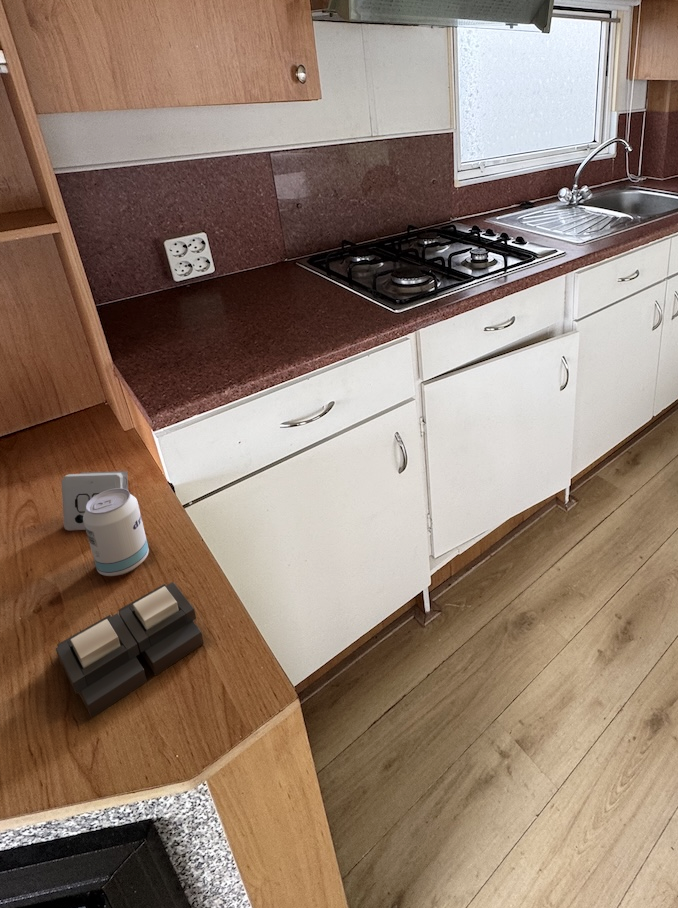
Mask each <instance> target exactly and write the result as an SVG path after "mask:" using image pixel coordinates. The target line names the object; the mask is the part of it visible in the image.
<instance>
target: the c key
mask: <svg viewBox="0 0 678 908" xmlns="http://www.w3.org/2000/svg"><path fill="white" fill-rule="evenodd" d="M71 643H72V646H73V650H74V651H75V653H76V655H77V657H78V659H79V661H80V663H81V665H82V667H83V669H84V668H85V667H87V666H89V665H90V664H92V663H94V662H95V661H97V660H99V659H100V658H102V657H104V656H105V655H107V654H109V653H110V652H112V651H114V650H115V649H117V648H119V647H120V642H119V639H118V636H117V634H116V633H115V631H114V629H113V628H112V626H111V625H110V623H109V621H108V620H107V619H106V620H104V621H102V622H100V623H98V624H97V625H95V626H93V627H91V628H90V629H88V630H86V631H84V632H83V633H81V634H79V635H77V636H76V637H74V638H72V639H71Z"/></svg>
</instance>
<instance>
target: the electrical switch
mask: <svg viewBox="0 0 678 908" xmlns="http://www.w3.org/2000/svg"><path fill="white" fill-rule="evenodd" d="M128 481H129V480H128V471H127V470H118V471H91V472H90V471H89V472H87V471H86V472H80V473H69V474H66V475H64V476H63V478H62V479H61V496H62V497H61V498H62V517H63V528H64V529H65V530H66V531H86V529H85V525H84V522H83V515H84V513H85V511H86V504H87V503H88V501H89V500H90V499H91V498H93V497H94V496H96V495H97V494H99V493H101V492H104V491H106V490H110V489H115V488H123V489H126V490H128V491H129V482H128Z"/></svg>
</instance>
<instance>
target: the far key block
mask: <svg viewBox="0 0 678 908" xmlns="http://www.w3.org/2000/svg"><path fill="white" fill-rule="evenodd" d="M164 586H165V587H166V588H167V590H168V591H169V592H170V594H171V595H172V596H173V598H174V599H175V600H176V602H177V605H178V610H179V611H178V612H176V613H175V614H173V615H171V616H170V617H168V618H166V619H165V620H163V621H161V622H160V623H158V624H156V625H155V626H153V627H151V628H150V629H148V630H146V629H145V627H144V626H143V624H142V623H141V622H140V620H139V619H138V617H137V616H136V614H135V611H134V607H133V604H134V603H136V602H137V601H139V600H141V599H143V598H145V597H146V596H148V595H150V594H152V593H153V592H155V591H157V590H159V589H160V588H162V587H164ZM118 614H119V616H120V618H121V619H122V621H123V622H124V624H125V625H126V627H127V629H128V630H129V632H130V633H131V635H132V636H133V638H134V640H135V641H136V643H137V645H138V649H139V653H140V654H141V655H142V656H143V658H144V660H145V662H146V663H147V664H148V666H149V667H150V669H151V671H152V673H153V674H154V676H158V675H159V674H160V673H162V672H164V671H165V670H167V669H168V668H170V667H171V666H173V665H174V664H176V663H177V662H179V661H181V660H182V659H183V658H185V657H186V656H188V655H189V654H192V652H194V651H195V650H197V649H198V648H200V647H202V646H203V645H204V644H205V643H204V637H203V633H202V631H201V629H200V628H199V626H198V625H197V624H196V622H195V621H194V620H196V619H197V616H196V615H197V614H196V610H195V608H194V606H193V604H192V603H190V601H189V600H188V599H187V597H186V596H185V595H184V594H183V592H182V591H181V590H180V588H179V587H178V586H177V585H176V583H175V582H174V581H172V582H170V583H168V584H166V583H164V584H162V585H160V586H158V587H156V588H155V589H152V590H151V591H149V592H148V593H146V594H144V595H142V596H140V597H139V598H136V599H135V600H134V601H132V602H130V603H128V604H126V605H124V606H122V607H121V608H119V609H118Z"/></svg>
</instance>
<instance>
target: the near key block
mask: <svg viewBox="0 0 678 908" xmlns="http://www.w3.org/2000/svg"><path fill="white" fill-rule="evenodd" d="M106 619H107V620H108V621H109V623H110V625H111V626H112V628H113V629H114V631H115V633H116V634H117V636H118V639H119V642H120V647H119V648H117V649H115V650H114V651H112V652H110V653H109V654H107V655H105V656H104V657H102V658H100V659H99V660H97V661H95V662H94V663H92V664H90V665H89V666H87V667H85V668H84V669H83V667H82V665H81V663H80V661H79V659H78V657H77V655H76V653H75V651H74V650H73V646H72V643H71V639H72V638H74V637H76V636H77V635H79V634H81V633H83V632H84V631H86V630H88V629H90V628H91V627H93V626H95V625H97V624H98V623H100V622H102V621H104V620H106ZM55 652H56V654H57V658H58V660H59V662H60V664H61V666H62V668H63V671H64V672H65V674H66V677H67V678H68V681H69V682H70V684H71V687H72V689H73V691H74V692H75V694H78V695H79V696H80V698H81V700H82V702H83V704H84V706H85V709H86V710H87V712H88V715H89V716H90V718H91V719H92V718H94V717H96V716H97V715H99V714H100V713H102V712H104V711H105V710H106V709H108V708H109V707H111V706H112V705H114V704H116V703H117V702H119V701H120V700H122V699H123V698H124V697H126V696H128V695H130V693H132V692H133V691H135V690H137V689H138V688H140V687H141V686H142V685H144V684H145V683H147V676H146V672H145V669H144V667H143V665H142V664H141V662H140V661H139V659H138V658H137V656H139V655H140V654H141V653H140V651H139V649H138V645H137V643H136V641H135V640H134V638H133V636H132V635H131V633H130V632H129V630H128V629H127V627H126V625H125V624H124V622H123V621H122V619H121V618H120V616H119V612H118V613H115V614H114V615H110V614H109V615H107V616H105V617H103V618H102V619H99V620H97V621H96V622H94V623H92V624H90V625H89V626H87V627H85V628H84V629H82V630H80V631H78V632H77V633H74V634H73V635H72V636H69V637H68V638H66V639H63V640H62V641H60V642H59V643H57V646H56V647H55Z"/></svg>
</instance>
